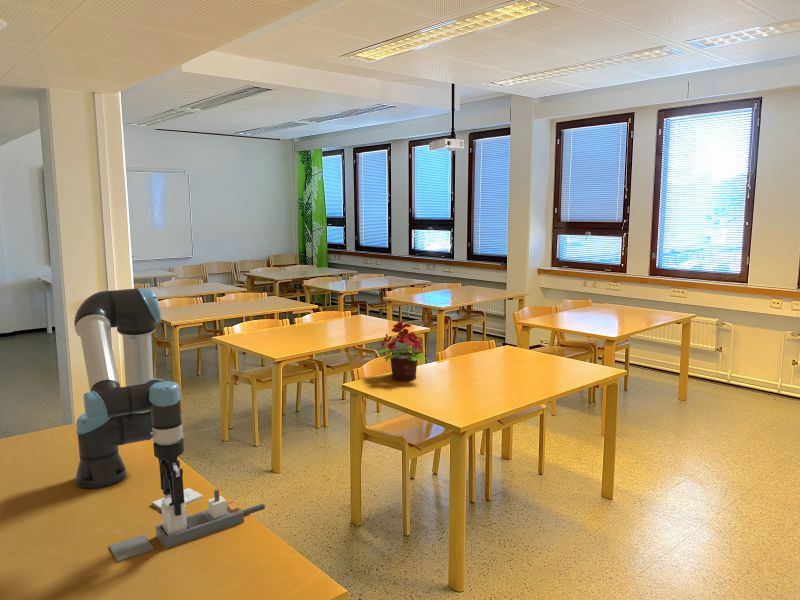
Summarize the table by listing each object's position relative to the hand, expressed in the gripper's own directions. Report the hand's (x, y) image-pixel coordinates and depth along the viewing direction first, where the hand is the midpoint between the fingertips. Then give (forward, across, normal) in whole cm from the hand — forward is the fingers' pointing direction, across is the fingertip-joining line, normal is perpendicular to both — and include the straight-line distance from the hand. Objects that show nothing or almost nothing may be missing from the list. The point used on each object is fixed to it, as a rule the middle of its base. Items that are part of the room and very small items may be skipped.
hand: (174, 520), depth 166 cm
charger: (+2, 0, 0) cm, 2 cm away
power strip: (+5, 0, +11) cm, 12 cm away
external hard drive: (+6, -21, +7) cm, 22 cm away
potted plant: (+6, -83, +140) cm, 163 cm away
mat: (+5, -2, -11) cm, 12 cm away
